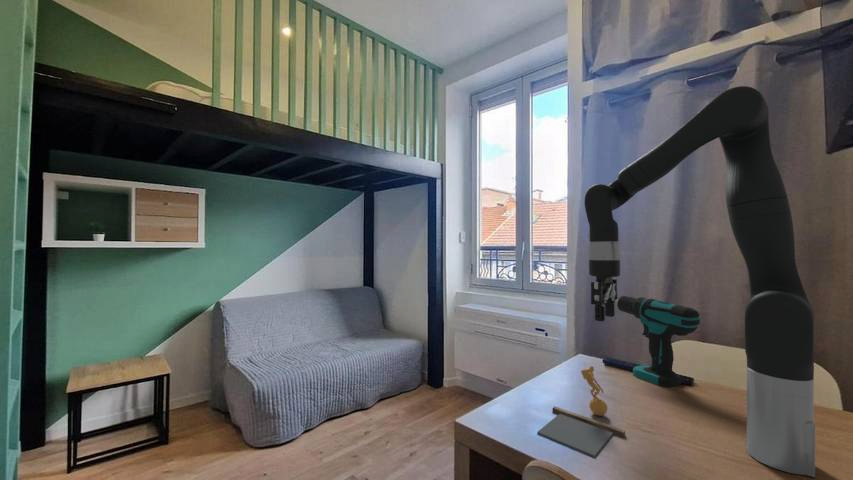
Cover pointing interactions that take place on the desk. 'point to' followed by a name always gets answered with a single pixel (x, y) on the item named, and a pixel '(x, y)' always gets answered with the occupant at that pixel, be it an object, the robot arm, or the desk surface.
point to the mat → (576, 434)
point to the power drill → (660, 335)
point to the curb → (590, 421)
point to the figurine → (595, 404)
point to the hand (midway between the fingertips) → (605, 318)
